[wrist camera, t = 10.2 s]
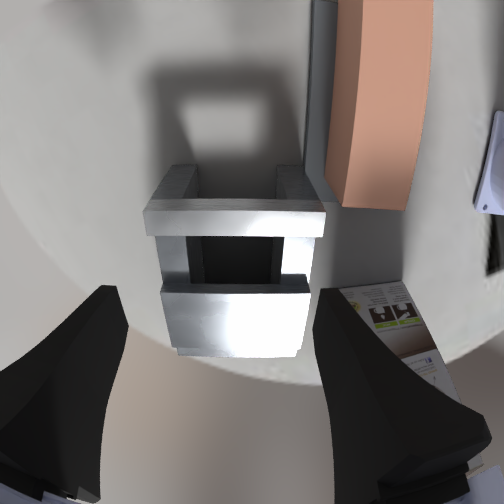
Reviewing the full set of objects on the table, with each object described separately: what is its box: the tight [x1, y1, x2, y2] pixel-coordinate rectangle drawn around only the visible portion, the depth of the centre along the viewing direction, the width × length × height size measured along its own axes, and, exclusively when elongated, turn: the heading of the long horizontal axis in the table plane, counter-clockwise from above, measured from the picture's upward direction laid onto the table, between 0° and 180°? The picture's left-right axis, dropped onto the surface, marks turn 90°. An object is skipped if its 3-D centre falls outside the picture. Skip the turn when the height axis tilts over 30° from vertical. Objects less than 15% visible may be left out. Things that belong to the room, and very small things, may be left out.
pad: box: [303, 0, 339, 202], centre depth 16 cm, size 6×12×1 cm, turn 179°
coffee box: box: [339, 281, 483, 477], centre depth 19 cm, size 9×6×16 cm
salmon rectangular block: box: [324, 0, 433, 211], centre depth 13 cm, size 4×11×4 cm, turn 178°
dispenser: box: [143, 165, 326, 357], centre depth 19 cm, size 8×11×6 cm
